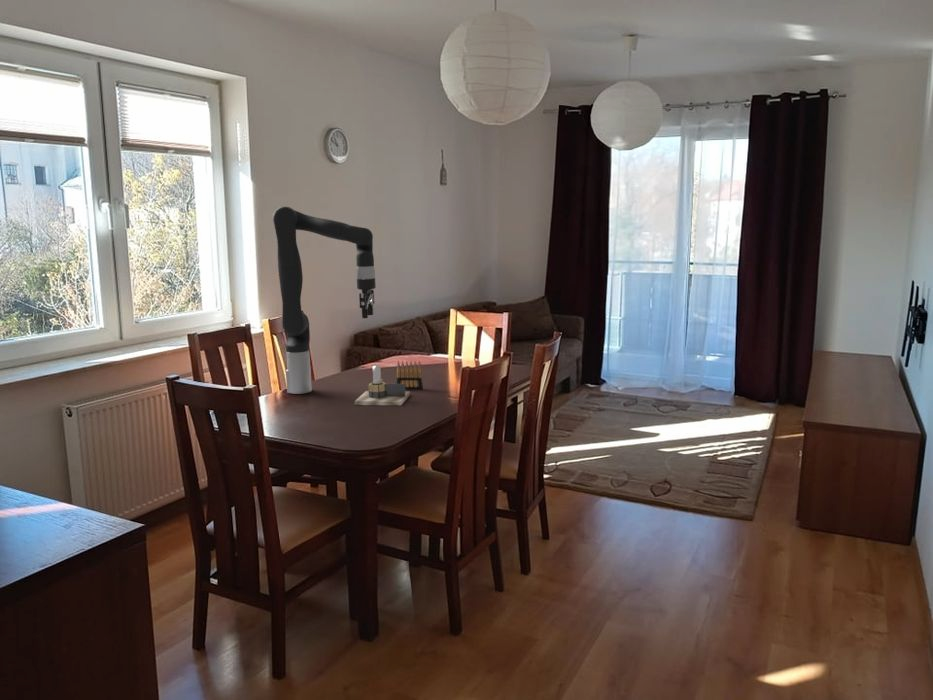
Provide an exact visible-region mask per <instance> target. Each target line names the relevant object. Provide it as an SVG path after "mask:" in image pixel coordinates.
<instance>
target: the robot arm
mask: <svg viewBox="0 0 933 700" xmlns="http://www.w3.org/2000/svg"><path fill="white" fill-rule="evenodd" d="M272 221H273V225H274V230H275V235H276V236H275V237H276V240H277V241H276V242H277V243H276V244H277V268H278V278H279V287H280V295H281V303H282V304H281V305H282V313H281V314H282V315H281V316H282V320H281V322H282V324H281V325H282V329H283V331H284V332H285V333H286V334H287V335H286V336H287V337H286V340H287V341H286V344H285V353H286V368H287V369H286V370H285V378H286V379H285V381H286V392H287V394H293V395H294V394H295V395H300V394H301V395H302V394H303V395H304V394H307V393H311V392H312V391H313V389H312V388H313V387H312V375H311V371H312V370H311V359H310V357H311V356H310V341H311V338H310V337H311V336H310V335H311V331H310V321H309V318H308V315H307V314H306V313H305V312H303V310H302V304H301V297H302V289H303V266H302V260H301V256H300V250H299V248H298V243H297V231H304V232H305V231H306V232H309V233H314V234H317V235H320V236H322V237H326V238H330V239H333V240H338V241H343V242H345V241H346V242H348V243H352V244H355V247H356V256H355V257H356V260H355V261H356V271H355V273H356V288H357V290H361V292H360V293H359V294H358V295H359V298H358V299H359V300H358V301H359V308H360V309H361V317H362V319H368V317H369V316H373V315H374V305H375V302H376V301H375V291H374V290H375V289H376V287H377V286H376V270H375V261H374V260H375V259H374V253H373V252H374V251H373V248H374V245H373V240H374V239H373V238H374V235H373V233H372V231H371V230H370V229H369V228H367V227H361V226H355V225H351V224H349V223H345V222H341V221H337V220H332V219H327V218H322V217H321V218H320V217H318V216H317V217H316V216H312V215H307V214H306V213H305V214H304V213H303V212H301V211H297V210H295V209H293V208H292V207H290V206H280V207H277V209H275V211H274V212H273V214H272Z"/></svg>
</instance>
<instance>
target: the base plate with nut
mask: <svg viewBox="0 0 933 700" xmlns="http://www.w3.org/2000/svg"><path fill="white" fill-rule="evenodd" d="M405 386H406V383H405V384H397V383H387V382H384V379H383V378H381V385H373V381H372V382H370V383H368V390H365V391H364V392H363V393H362V394H361V395H360V396H359V397H357V399H355V401H354V406H402V405H403V404H404V403H405V401H406V400H407V399H408V398H409V397H410V393H411V392H410V390H409V391H408V390H405Z"/></svg>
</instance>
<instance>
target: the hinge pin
mask: <svg viewBox="0 0 933 700" xmlns="http://www.w3.org/2000/svg"><path fill="white" fill-rule="evenodd" d="M381 369H382V368H381V365H372V382H373V385H381V379H382V371H381Z"/></svg>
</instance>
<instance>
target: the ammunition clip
mask: <svg viewBox="0 0 933 700" xmlns="http://www.w3.org/2000/svg"><path fill="white" fill-rule="evenodd" d="M422 374H423V371H422V363H421V361H420V360H418V364H417V362H416V361H414V362H412V360H410V362H409V363H408V360H406V361H405V363H404V361H403V360H402V361H401V364H400V361H398V360H397V363H396V384H405V391H408V390H409V391H410V390H411V391H415V390H416V391H422V390H424V386H423V385H424V384H423V375H422Z"/></svg>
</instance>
